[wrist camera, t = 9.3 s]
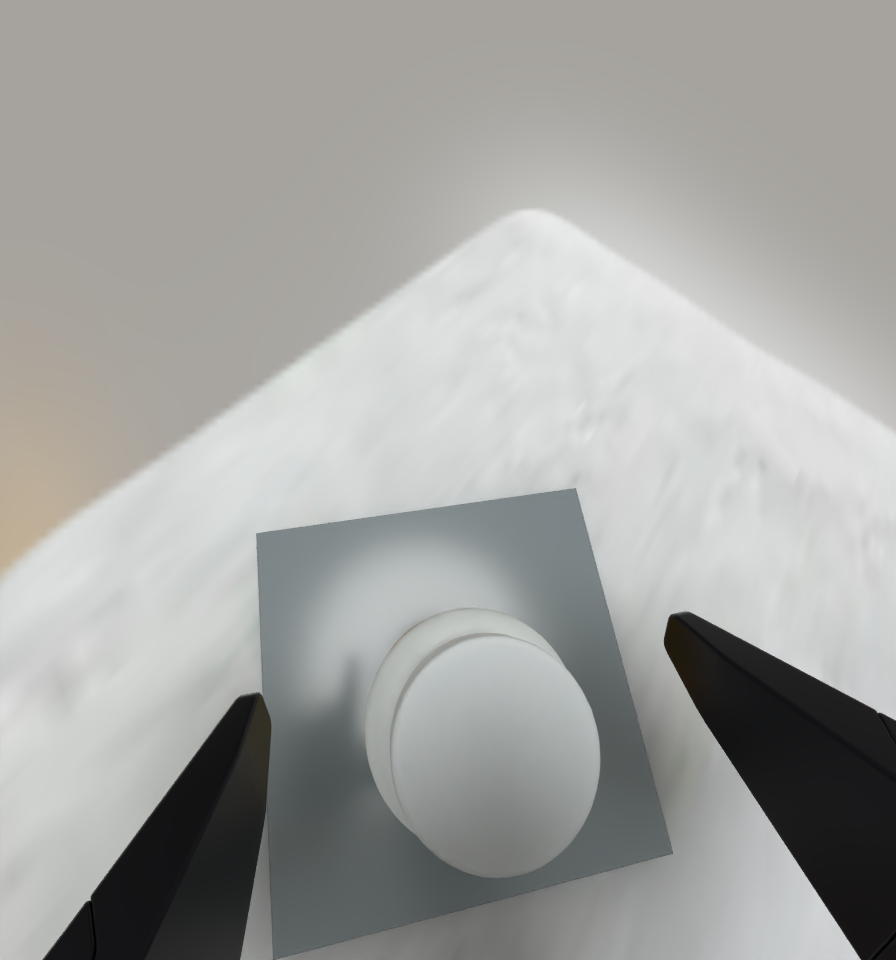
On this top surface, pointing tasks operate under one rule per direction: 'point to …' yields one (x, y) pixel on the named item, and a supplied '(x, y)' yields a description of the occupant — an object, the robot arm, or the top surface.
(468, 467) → the top surface
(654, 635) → the top surface
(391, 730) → the supplement bottle
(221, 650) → the top surface
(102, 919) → the robot arm
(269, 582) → the coaster
